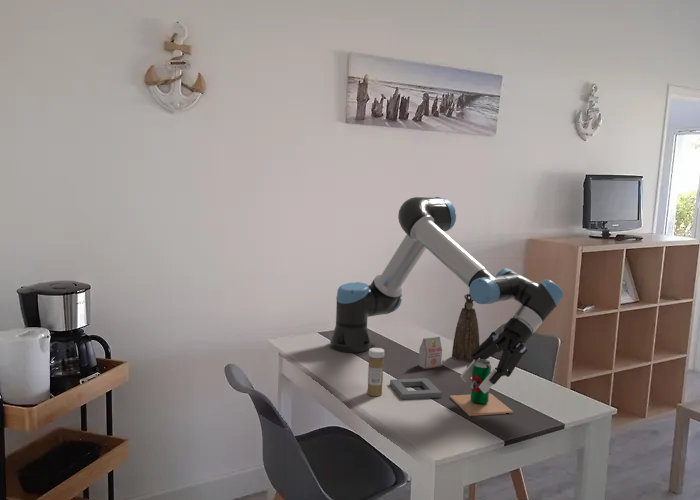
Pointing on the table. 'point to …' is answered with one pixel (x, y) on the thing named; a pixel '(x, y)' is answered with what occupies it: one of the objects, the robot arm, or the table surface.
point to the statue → (466, 332)
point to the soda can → (479, 381)
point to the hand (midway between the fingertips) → (472, 384)
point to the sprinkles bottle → (375, 371)
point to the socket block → (429, 391)
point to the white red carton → (430, 353)
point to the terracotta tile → (475, 409)
